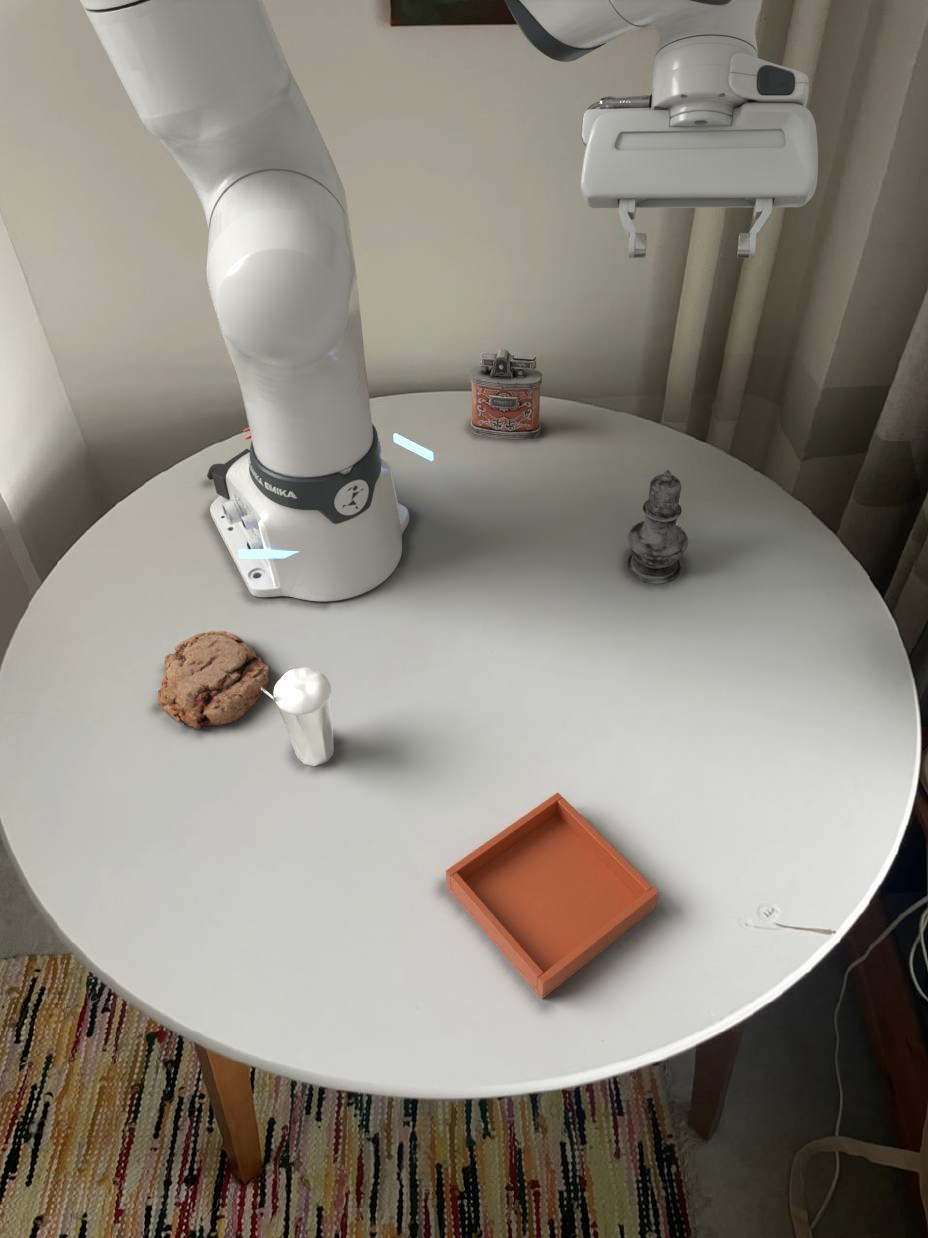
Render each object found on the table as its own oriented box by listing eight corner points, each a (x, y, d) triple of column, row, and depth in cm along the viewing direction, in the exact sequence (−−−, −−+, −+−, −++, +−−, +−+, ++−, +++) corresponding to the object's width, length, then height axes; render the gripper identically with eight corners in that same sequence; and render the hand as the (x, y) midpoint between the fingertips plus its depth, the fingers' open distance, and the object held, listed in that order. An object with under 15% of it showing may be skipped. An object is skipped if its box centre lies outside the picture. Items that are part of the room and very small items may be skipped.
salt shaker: (681, 589, 100) (699, 493, 91) (621, 582, 101) (632, 486, 92) (685, 549, 104) (702, 453, 95) (627, 542, 105) (638, 447, 96)
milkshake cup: (273, 743, 89) (252, 667, 81) (332, 722, 90) (317, 646, 83) (288, 783, 86) (268, 708, 78) (349, 761, 87) (335, 685, 80)
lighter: (468, 435, 118) (466, 359, 111) (473, 418, 120) (471, 342, 113) (538, 441, 117) (541, 364, 110) (541, 423, 119) (544, 347, 112)
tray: (446, 887, 79) (445, 870, 77) (556, 809, 83) (557, 791, 81) (542, 999, 72) (543, 984, 71) (655, 908, 77) (659, 892, 75)
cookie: (242, 628, 98) (236, 606, 96) (286, 702, 92) (281, 680, 89) (141, 669, 95) (133, 647, 93) (180, 749, 88) (171, 727, 86)
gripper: (580, 81, 89) (570, 245, 90) (828, 74, 85) (814, 246, 86) (586, 111, 95) (576, 265, 96) (817, 106, 91) (804, 266, 92)
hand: (690, 256), depth 91 cm, fingers open, 8 cm apart
